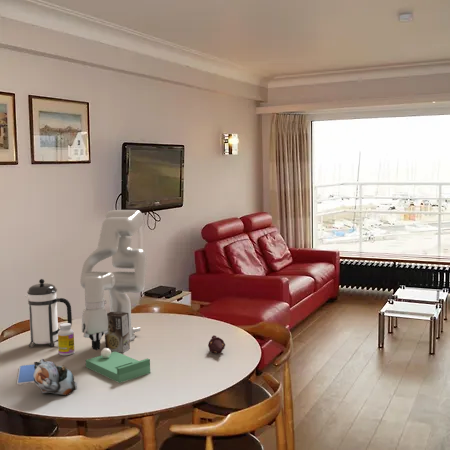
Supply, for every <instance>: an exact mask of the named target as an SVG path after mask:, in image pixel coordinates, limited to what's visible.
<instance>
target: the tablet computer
mask: <svg viewBox="0 0 450 450" xmlns="http://www.w3.org/2000/svg"><path fill="white" fill-rule="evenodd" d="M34 366H35V364H34V363H33V364H27V365H25V364H24V365H20V366H19V368H18V373H17V378H16V385H17V386H21V385H28V384H35V382H34V376H33V375H34V372H35V368H34ZM20 384H21V385H20Z"/></svg>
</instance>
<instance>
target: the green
mask: <svg viewBox="0 0 450 450" xmlns="http://www.w3.org/2000/svg"><path fill="white" fill-rule="evenodd" d="M150 360H151V359H149V358H144V359H141V360H137V359H136V358H133V357H130V356H128V355H125V354H122V353H121V352H116V351H115V352H112V351H111V355H110V357H108V358H103V357H102V356H101V355H98V356H95V357H94V356H93V357H91V358H87V359H85V368H87V369H88V370H91V371H93V372H95V373H97V374H99V375H102V376H103V377H106V378H108V379H110V380H113V381H115V382H117V383H119V384H121V383H124V382H126V381H130V380H133V379H135V378H136V379H137V378H140V377H142V376H145V375H148V374H151V361H150Z"/></svg>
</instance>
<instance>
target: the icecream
mask: <svg viewBox="0 0 450 450" xmlns="http://www.w3.org/2000/svg"><path fill="white" fill-rule="evenodd" d="M207 346H208V349H209V351H210V352H212V353H213V354H221V353H222V352H223V350H224V349H225V347H226V343H225V342H224V340H223V338H220V337H219V336H217V335H212V336H211V339H210V340H209V342H208V345H207Z"/></svg>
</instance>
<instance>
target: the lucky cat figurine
mask: <svg viewBox="0 0 450 450" xmlns="http://www.w3.org/2000/svg"><path fill="white" fill-rule="evenodd" d="M33 364H35V366H34V368H35V372H34V375H33V376H34V382H35V383H34V384H35V385H36V386H37V387H38V388H39V389H40V391H41V393H42V394H53V395H62V396H68V395H71V394H73V393H74V392H75V391H76V390H77V389H78V383H77V382H76V381H75V377H74V374H73V372H72V371H71V370H70V369H69V368H67V367H66V366H64V365H57V366H56V364H55V363H54V361H49V360H47V361H45V359H44V358H41V359H39V361H34V363H33Z"/></svg>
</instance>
